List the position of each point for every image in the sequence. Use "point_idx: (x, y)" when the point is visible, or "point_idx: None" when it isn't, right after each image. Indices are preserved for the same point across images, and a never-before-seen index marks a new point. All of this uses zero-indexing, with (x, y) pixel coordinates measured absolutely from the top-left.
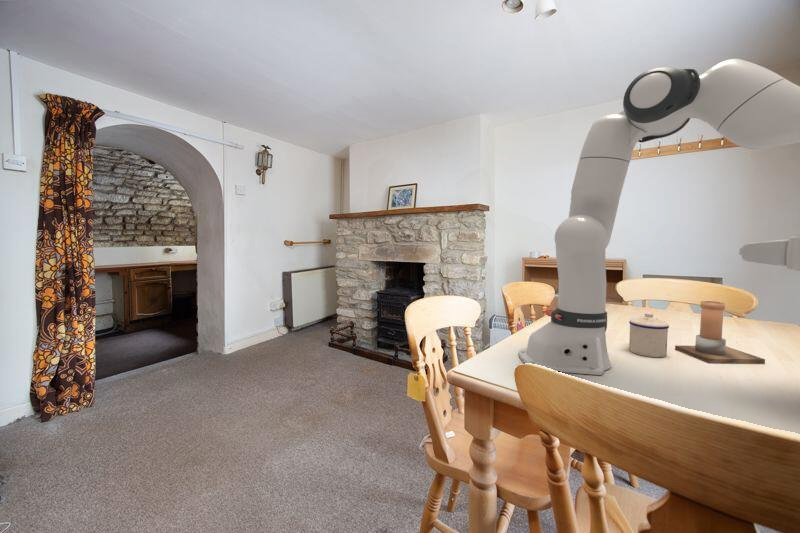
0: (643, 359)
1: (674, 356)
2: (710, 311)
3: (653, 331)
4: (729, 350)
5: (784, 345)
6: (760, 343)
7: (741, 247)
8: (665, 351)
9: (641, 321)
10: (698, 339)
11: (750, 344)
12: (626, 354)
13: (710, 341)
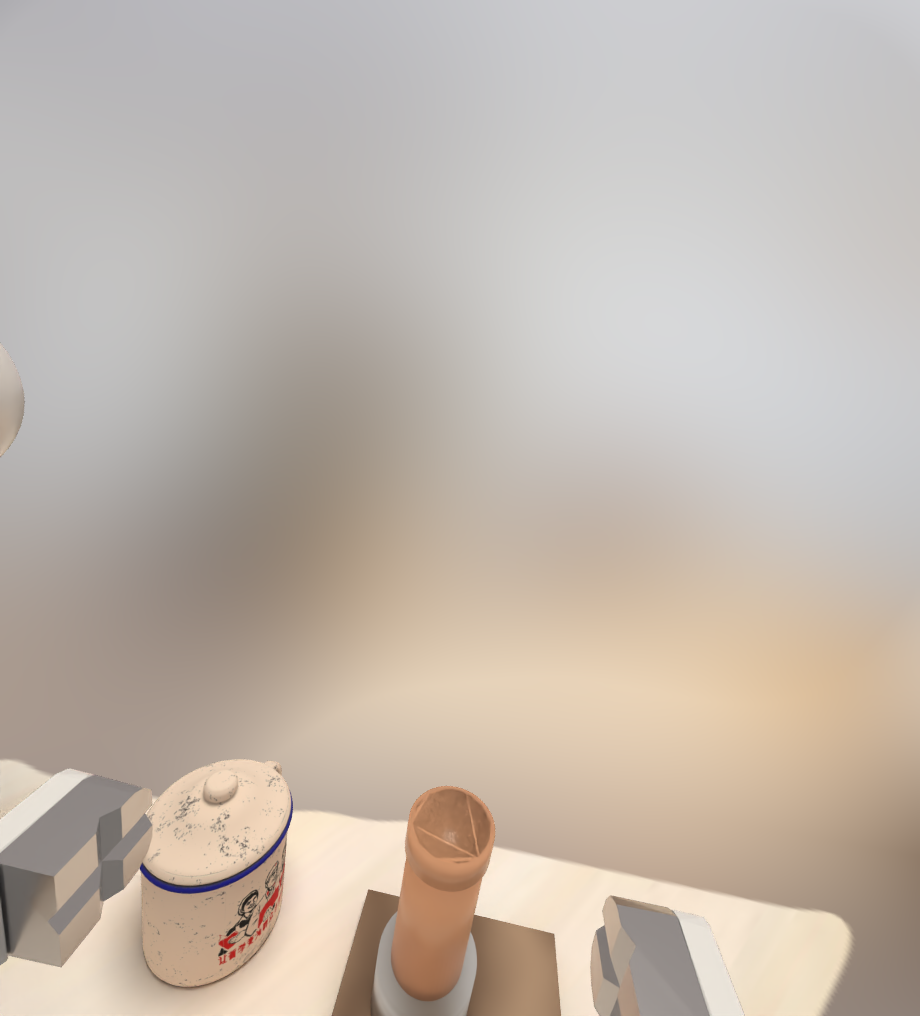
0: (81, 996)
1: (265, 984)
2: (412, 872)
3: (153, 888)
4: (521, 998)
5: (815, 944)
6: (739, 905)
7: (58, 773)
8: (215, 966)
9: (163, 813)
10: (380, 943)
11: (696, 907)
12: (106, 916)
13: (385, 997)
